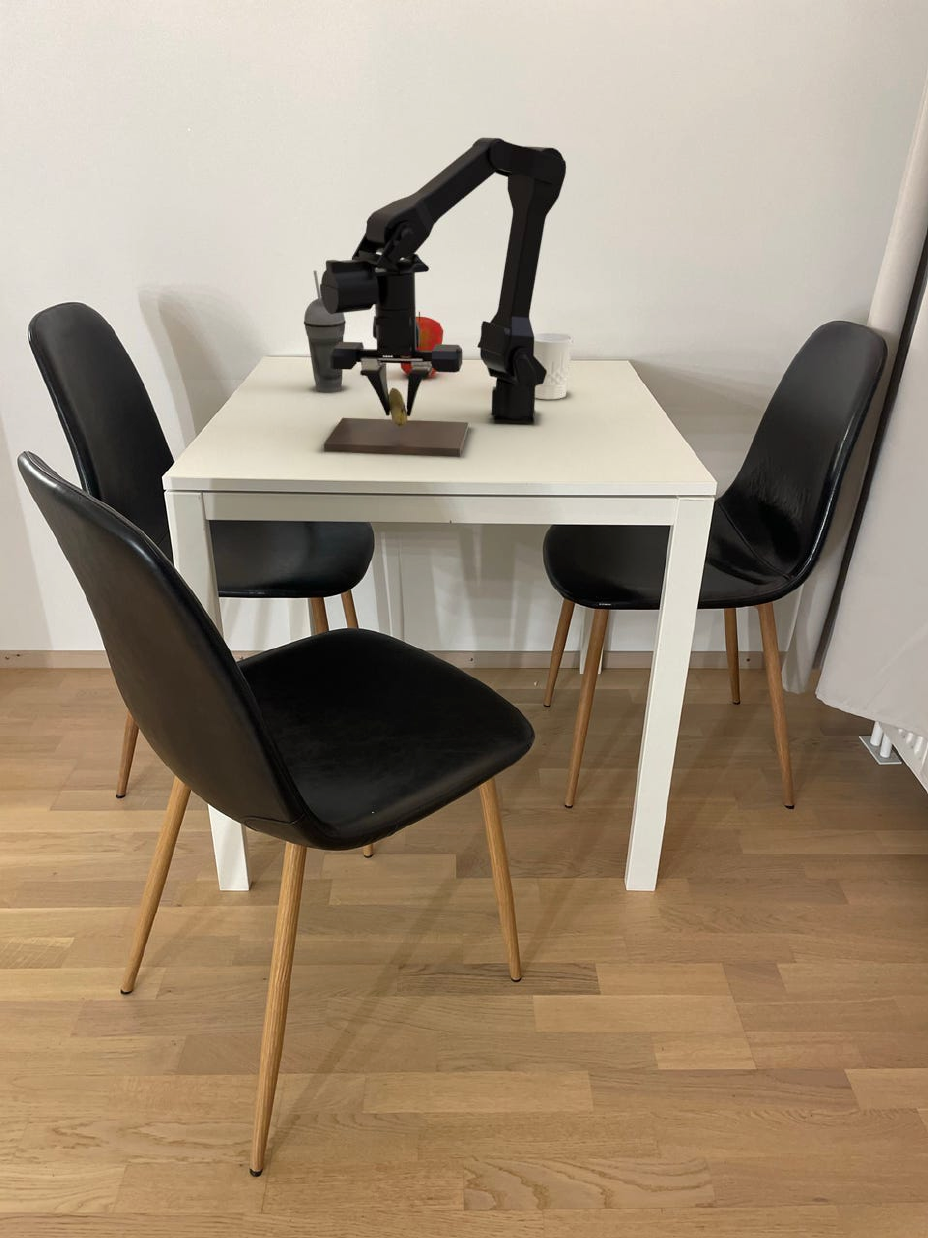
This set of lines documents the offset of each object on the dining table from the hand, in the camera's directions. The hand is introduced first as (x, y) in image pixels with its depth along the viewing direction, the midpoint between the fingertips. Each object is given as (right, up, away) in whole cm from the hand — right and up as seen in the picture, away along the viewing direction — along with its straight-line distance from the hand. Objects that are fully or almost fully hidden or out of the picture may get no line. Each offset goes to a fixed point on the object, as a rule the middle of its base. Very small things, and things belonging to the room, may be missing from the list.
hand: (398, 414), depth 138 cm
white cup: (+25, +9, +25) cm, 36 cm away
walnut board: (0, -3, +2) cm, 4 cm away
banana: (0, -1, +1) cm, 1 cm away
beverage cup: (-14, +11, +27) cm, 33 cm away
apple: (+2, +15, +36) cm, 39 cm away
